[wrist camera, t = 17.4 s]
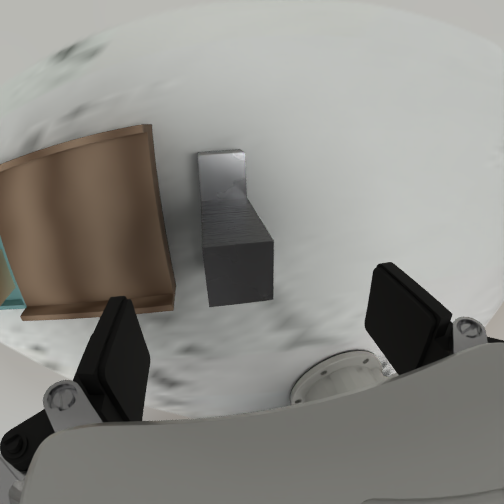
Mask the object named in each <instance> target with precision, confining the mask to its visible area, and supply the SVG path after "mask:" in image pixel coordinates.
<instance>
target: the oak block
mask: <svg viewBox="0 0 504 504" xmlns="http://www.w3.org/2000/svg"><path fill="white" fill-rule="evenodd" d="M14 289H15V284H14V282H13V279H12V277H11V274H10V271H9V269H8V266H7V263H6V260H5V257H4V254H3V251H2V249H0V306H1V305H2V303H3V302H4V301H5V300H6V298H7V297H8V296H9V295H10V293H11V292H12V291H13V290H14Z"/></svg>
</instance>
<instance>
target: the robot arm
mask: <svg viewBox="0 0 504 504" xmlns="http://www.w3.org/2000/svg"><path fill="white" fill-rule="evenodd" d="M451 317H452V313H451V312H450V311H449V310H447V309H446V308H445V307H444V306H443V305H442V304H441V303H440V302H439V301H437V300H436V299H435V298H434V297H433V296H432V295H430V294H429V293H428V292H427V291H426V290H425V289H424V288H422V287H421V286H420V285H419V284H418V283H416V282H415V281H414V280H413V279H412V278H410V277H409V276H408V275H407V274H406V273H404V272H403V271H402V270H401V269H400V268H398V267H397V266H396V265H395V264H393V263H392V262H388V263H382V264H378V265H377V267H376V268H375V269H374V270H373V276H372V283H371V289H370V295H369V301H368V307H367V312H366V318H365V328H366V331H367V332H368V333H369V335H370V336H371V337H372V339H373V340H374V341H375V343H376V344H377V346H378V347H379V348H380V350H381V351H382V352H383V354H384V355H385V357H386V358H387V359H388V361H389V362H390V364H391V365H392V366H393V368H394V369H395V371H396V372H397V373H394V374H392V375H390V376H388V377H386V376H383V374H382V365H381V363H380V361H379V360H378V358H377V357H376V356H375V355H374V354H372V353H370V352H366V351H353V352H347V353H343V354H339V355H337V356H334V357H331V358H329V359H327V360H325V361H323V362H321V363H319V364H318V365H316V366H315V367H313V368H312V369H310V370H309V371H308V372H307V373H305V374H304V375H303V376H302V377H301V378H300V379H299V380H298V382H297V383H296V385H295V386H294V387H293V390H292V392H291V396H290V401H291V405H290V406H285V407H280V408H275V409H269V410H263V411H257V412H250V413H243V414H236V415H228V416H219V417H209V418H197V419H183V420H166V421H142V416H143V408H144V401H145V393H146V386H147V380H148V373H149V367H150V354H149V351H148V349H147V346H146V343H145V340H144V337H143V334H142V331H141V328H140V325H139V322H138V319H137V316H136V313H135V310H134V306H133V303H132V301H131V299H127V298H126V296H116V297H110V298H109V301H108V303H107V305H106V307H105V309H104V311H103V313H102V315H101V317H100V320H99V322H98V324H97V326H96V328H95V331H94V333H93V334H92V336H91V338H90V340H89V342H88V345H87V347H86V349H85V352H84V354H83V356H82V359H81V361H80V364H79V366H78V369H77V371H76V374H75V376H74V379H73V381H71V380H63V381H59V382H57V383H55V384H53V385H52V386H50V387H49V388H48V390H47V391H46V393H45V394H44V397H43V405H44V408H45V409H44V410H42V411H41V412H39V413H37V414H36V415H34V416H33V417H31V418H29V419H27V420H26V421H24V422H22V423H21V424H19V425H18V426H16V427H14V428H13V429H11V430H10V431H8V432H7V433H6V434H5V435H4V436H3V438H2V441H1V443H0V451H1V454H0V504H504V341H503V340H498V339H494V338H490V337H487V335H486V330H485V328H484V326H483V325H482V324H481V323H480V322H479V321H477V320H475V319H473V318H470V317H459V318H457V319H455V321H454V322H453V323H452V322H451V321H450V320H451Z"/></svg>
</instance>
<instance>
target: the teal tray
mask: <svg viewBox="0 0 504 504" xmlns="http://www.w3.org/2000/svg"><path fill="white" fill-rule="evenodd" d="M0 249H2V251H3V254H4V257H5V260H6V263H7V266H8V269H9V271H10V274H11V277H12V279H13V282H14V284H15V289H14V290H13V291H12V292H11V293H10V295H9V296H8V297H7V298H6V300H5V301H4V302H3V303H2V305H1V306H0V310H4V309H24V308H26V307H27V306H26V304H25V301H24V299H23V297H22V294H21V292H20V290H19V287H18V285H17V282H16V280H15V277H14V275H13V272H12V269H11V267H10V264H9V261H8V258H7V255H6V252H5V249H4V246H3V243H2V240H1V236H0Z"/></svg>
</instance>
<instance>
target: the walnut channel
mask: <svg viewBox="0 0 504 504" xmlns="http://www.w3.org/2000/svg"><path fill="white" fill-rule="evenodd" d="M0 236H1V240H2V243H3V246H4V249H5V252H6V255H7V258H8V261H9V264H10V267H11V269H12V272H13V275H14V277H15V280H16V282H17V285H18V287H19V290H20V292H21V294H22V297H23V299H24V301H25V304H26V306H27V307H26V309H25V310H24V311H23V313H22V314H21V316H20V317H21V319H22V321H33V320H57V319H76V318H92V317H101V315H102V313H103V311H104V309H105V307H106V305H107V303H108V301H109V298H110V297H116V296H126V298H127V299H131V301H132V303H133V306H134V310H135V313H136V314H142V313H153V312H163V311H173V310H174V300H175V290H176V284H175V279H174V274H173V269H172V264H171V259H170V253H169V248H168V242H167V237H166V231H165V225H164V219H163V213H162V206H161V199H160V193H159V185H158V178H157V170H156V162H155V153H154V144H153V134H152V125H150V124H142V125H136V126H131V127H126V128H121V129H116V130H112V131H107V132H103V133H98V134H94V135H90V136H86V137H82V138H79V139H75V140H71V141H68V142H64V143H61V144H57V145H54V146H51V147H48V148H45V149H42V150H38V151H35V152H33V153H30V154H27V155H24V156H21V157H19V158H16V159H13V160H11V161H8V162H5V163H3V164H0Z"/></svg>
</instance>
